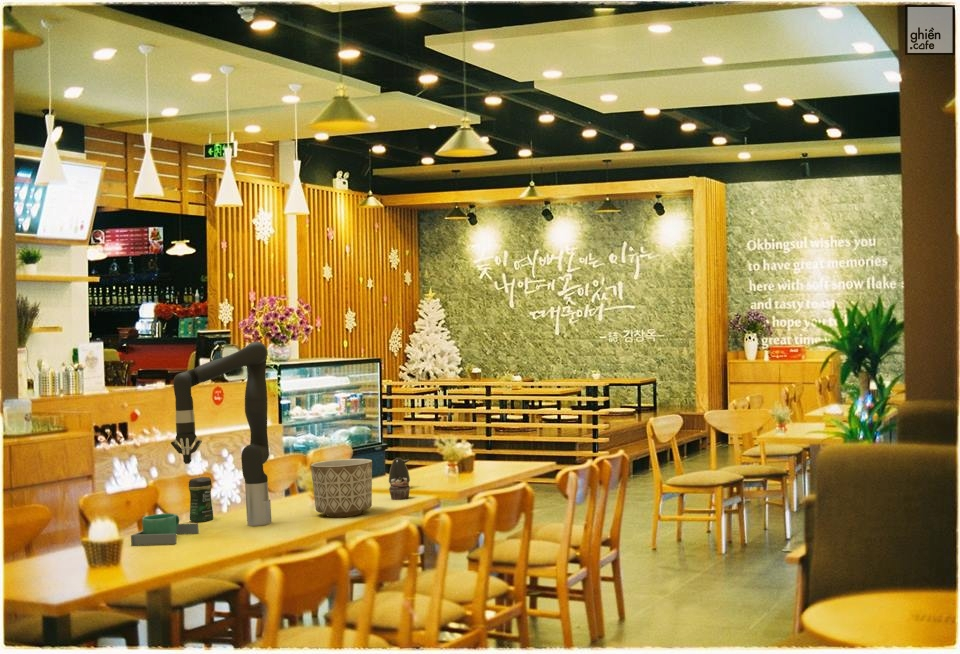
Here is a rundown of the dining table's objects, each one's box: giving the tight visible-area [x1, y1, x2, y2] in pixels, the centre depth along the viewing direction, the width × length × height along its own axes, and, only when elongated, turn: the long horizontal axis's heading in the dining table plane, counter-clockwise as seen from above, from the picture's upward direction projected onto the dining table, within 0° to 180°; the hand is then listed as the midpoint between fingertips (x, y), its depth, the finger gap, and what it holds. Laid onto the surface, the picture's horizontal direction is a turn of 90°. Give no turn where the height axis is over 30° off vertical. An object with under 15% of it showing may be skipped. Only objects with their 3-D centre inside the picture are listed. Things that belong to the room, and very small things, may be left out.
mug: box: [142, 513, 180, 534], centre depth 450 cm, size 17×13×10 cm
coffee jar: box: [188, 476, 214, 523], centre depth 493 cm, size 10×8×19 cm
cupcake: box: [388, 477, 411, 501], centre depth 526 cm, size 10×10×10 cm
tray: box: [130, 522, 200, 547], centre depth 450 cm, size 18×23×4 cm
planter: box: [310, 458, 373, 518], centre depth 490 cm, size 26×26×22 cm
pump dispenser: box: [388, 457, 411, 487], centre depth 559 cm, size 10×10×15 cm
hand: (187, 463), depth 470 cm, fingers closed
